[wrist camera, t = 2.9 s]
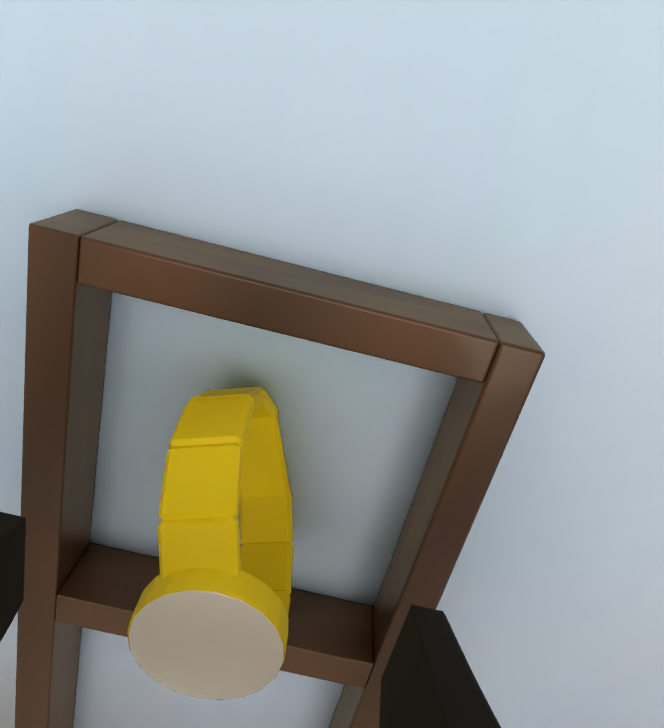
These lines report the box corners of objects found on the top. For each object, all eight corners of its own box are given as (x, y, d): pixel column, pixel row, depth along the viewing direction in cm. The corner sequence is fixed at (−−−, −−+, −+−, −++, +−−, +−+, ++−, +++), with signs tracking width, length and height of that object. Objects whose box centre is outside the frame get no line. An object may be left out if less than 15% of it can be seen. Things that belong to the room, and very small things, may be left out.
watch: (187, 355, 14) (77, 503, 9) (298, 347, 14) (255, 494, 8) (228, 546, 16) (161, 758, 11) (323, 542, 16) (304, 756, 11)
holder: (523, 321, 13) (548, 353, 12) (323, 815, 21) (320, 880, 19) (75, 208, 13) (27, 223, 11) (42, 757, 21) (11, 819, 19)
